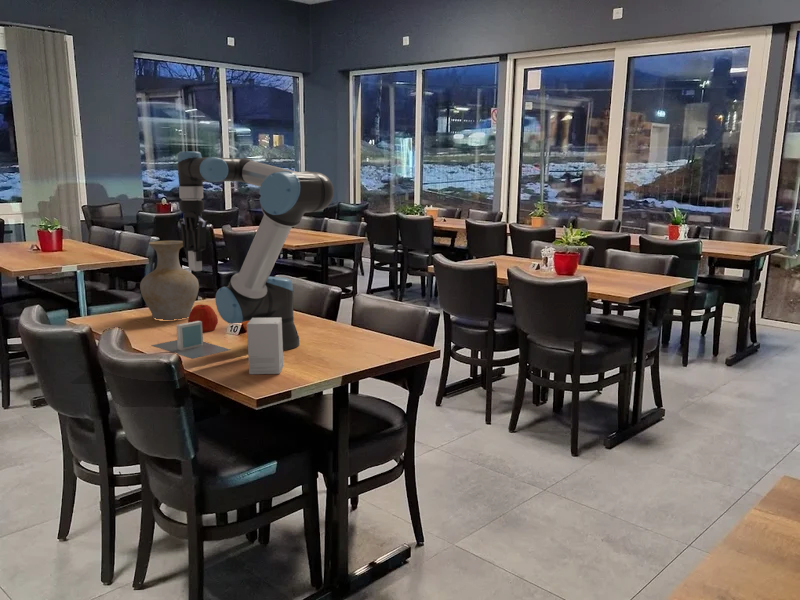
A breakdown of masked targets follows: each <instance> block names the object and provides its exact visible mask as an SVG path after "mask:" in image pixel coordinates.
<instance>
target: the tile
mask: <svg viewBox="0 0 800 600" xmlns="http://www.w3.org/2000/svg"><path fill="white" fill-rule="evenodd" d="M175 328H176V340H177V343H178V350H186V349H190V348H195V347H199V346H203V342H204V336H203V333H204V332H203V331H202V322H201V321H195V322H189V323H188V322H183V323H180V324H176V327H175Z"/></svg>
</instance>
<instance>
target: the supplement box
mask: <svg viewBox="0 0 800 600" xmlns="http://www.w3.org/2000/svg"><path fill="white" fill-rule="evenodd" d="M246 334H247V335H246V337H247V354H248V355H247V356H248V359H247V360H248V374H249V375H279V374H281V371H282V370H283V368H284V350H283V340H282V318H252V319H251V320H250V321H247V323H246Z"/></svg>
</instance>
